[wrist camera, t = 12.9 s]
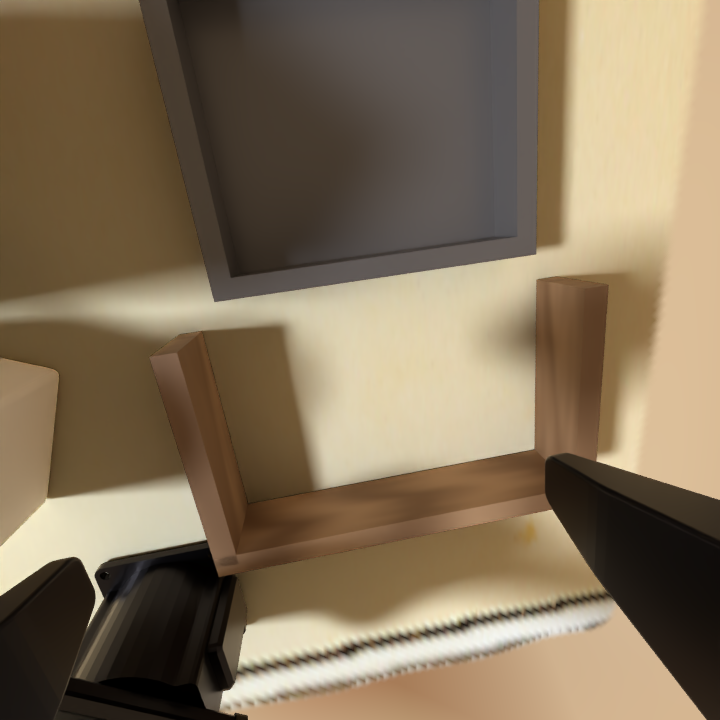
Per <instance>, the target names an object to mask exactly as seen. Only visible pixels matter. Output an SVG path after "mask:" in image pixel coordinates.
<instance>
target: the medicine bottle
mask: <svg viewBox="0 0 720 720" xmlns="http://www.w3.org/2000/svg"><path fill="white" fill-rule="evenodd" d="M58 384H59V373H58V372H57V371H56V370H54V369H51V368H47V367H42V366H37V365H33V364H28V363H23V362H18V361H14V360H9V359H4V358H0V546H1V545H2V544H3V543H4V542H5V541H6V540H7V539H8V538H9V537H10V536H11V535H12V534H13V533H14V532H15V531H16V530H17V529H18V528H19V527H20V526H21V525H22V524H23V523H24V522H25V521H26V520H27V519H28V518H29V517H30V516H31V515H32V514H33V513H34V512H35V511H36V510H37V509H38V508H39V507H40V506H41V505H42V504H43V503H44V502H45V500H46V498H47V494H48V484H49V474H50V464H51V454H52V444H53V434H54V424H55V414H56V404H57V394H58Z"/></svg>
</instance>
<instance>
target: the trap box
mask: <svg viewBox="0 0 720 720" xmlns="http://www.w3.org/2000/svg"><path fill="white" fill-rule="evenodd" d="M139 2H140V6H141V10H142V14H143V18H144V22H145V26H146V30H147V34H148V38H149V42H150V46H151V50H152V54H153V58H154V62H155V66H156V70H157V74H158V78H159V82H160V86H161V90H162V94H163V98H164V102H165V106H166V110H167V114H168V118H169V122H170V126H171V130H172V134H173V138H174V142H175V146H176V150H177V154H178V158H179V162H180V166H181V170H182V174H183V178H184V182H185V186H186V190H187V194H188V198H189V202H190V206H191V210H192V214H193V218H194V222H195V226H196V230H197V234H198V238H199V242H200V246H201V250H202V254H203V258H204V262H205V266H206V270H207V274H208V278H209V282H210V286H211V290H212V294H213V298H214V302H218V301H225V300H231V299H238V298H245V297H252V296H258V295H265V294H272V293H279V292H285V291H292V290H299V289H306V288H312V287H319V286H326V285H333V284H339V283H346V282H353V281H360V280H366V279H373V278H380V277H387V276H393V275H400V274H407V273H414V272H420V271H427V270H434V269H441V268H447V267H454V266H461V265H468V264H474V263H481V262H488V261H495V260H501V259H508V258H515V257H522V256H528V255H535V254H536V226H537V136H538V47H539V0H139Z"/></svg>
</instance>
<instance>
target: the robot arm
mask: <svg viewBox="0 0 720 720" xmlns="http://www.w3.org/2000/svg"><path fill="white" fill-rule="evenodd" d="M545 495H546V498H547V501H548V503H549V504H550V506H551V508H552V509H553V511H554V512H555V514H556V516H557V517H558V519H559V520H560V522H561V523H562V525H563V527H564V528H565V530H566V531H567V533H568V534H569V536H570V538H571V539H572V541H573V542H574V544H575V545H576V547H577V549H578V550H579V552H580V553H581V555H582V556H583V558H584V560H585V561H586V563H587V564H588V566H589V567H590V569H591V570H592V572H593V573H594V574H595V576H596V577H597V579H598V580H599V581H600V583H601V584H602V585H603V587H604V588H605V589H606V590H607V592H608V593H609V594H610V596H611V597H612V598H613V599H614V601H615V602H616V603H617V605H618V606H619V607H620V609H621V610H622V611H623V612H624V614H625V615H626V616H627V618H628V619H629V620H630V621H631V623H632V624H633V625H634V627H635V628H636V629H637V630H638V632H639V633H640V634H641V636H642V637H643V638H644V639H645V641H646V642H647V643H648V645H649V646H650V647H651V649H652V650H653V651H654V652H655V654H656V655H657V656H658V658H659V659H660V660H661V661H662V663H663V664H664V665H665V667H666V668H667V669H668V670H669V672H670V673H671V674H672V676H673V677H674V678H675V680H676V681H677V682H678V683H679V685H680V686H681V687H682V689H683V690H684V691H685V692H686V694H687V695H688V696H689V698H690V699H691V700H692V701H693V703H694V704H695V705H696V706H697V708H698V709H699V710H700V712H701V713H702V714H703V716H704V717H705V718H706V719H707V720H720V500H718V499H714V498H711V497H708V496H705V495H702V494H698V493H695V492H692V491H689V490H686V489H682V488H679V487H676V486H673V485H670V484H666V483H663V482H660V481H657V480H653V479H651V478H647V477H644V476H641V475H638V474H635V473H631V472H628V471H625V470H622V469H619V468H615V467H612V466H609V465H606V464H603V463H599V462H596V461H593V460H590V459H587V458H583V457H580V456H577V455H574V454H571V453H560V454H556V455H551V456H548V457H547V458H546V460H545ZM105 572H107V573H105ZM108 573H109V574H108ZM95 579H96V581H97V583H98V586H99V588H100V590H101V592H102V595H103V597H104V600H103V601H102V603H101V605H100V607H99V608H98V610H97V612H96V614H95V615H94V617H93V619H92V621H91V622H90V624H89V626H88V623H89V620H90V617H91V614H92V611H93V608H94V605H95V590H94V587H93V585H92V583H91V581H90V579H89V576H88V574H87V572H86V570H85V568H84V565H83V563H82V562H81V560H80V559H78V558H77V557H70V558H65V559H60V560H56V561H52V562H50V563H48V564H46V565H45V566H43V567H42V568H40V569H39V570H38V571H36V572H35V573H33V574H32V575H30V576H29V577H27V578H26V579H25V580H23V581H22V582H20V583H19V584H17V585H16V586H14V587H13V588H12V589H10V590H9V591H7V592H6V593H4V594H3V595H1V596H0V720H248V716H247V715H242V714H239V713H235V714H234V715H231V714H227V713H223V712H219V709H220V704H221V698H222V693H223V691H225V690H230V689H231V688H232V686H233V685H234V683H235V680H236V674H237V668H238V662H239V656H240V650H241V644H242V638H243V634H244V633H245V631H246V625H247V622H246V614H247V607H246V604H245V600H244V597H243V594H242V590H241V587H240V584H239V580H238V577H236V576H235V575H234V574H231V575H227V576H222V577H219V576H218V573H217V570H216V566H215V563H214V560H213V557H212V554H211V551H210V547H209V544H208V543H202V544H197V545H192V546H187V547H182V548H177V549H172V550H167V551H162V552H156V553H151V554H146V555H141V556H136V557H131V558H126V559H121V560H115V561H110V562H105V563H103V564H101V565H100V566H99V568H98V569H97V571H96V573H95ZM87 626H88V628H87Z"/></svg>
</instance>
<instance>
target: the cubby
mask: <svg viewBox="0 0 720 720" xmlns="http://www.w3.org/2000/svg"><path fill="white" fill-rule="evenodd" d="M607 299H608V285H606V284H600V283H593V282H587V281H581V280H574V279H568V278H561V277H551V278H544V279H538V280H537V293H536V378H535V450H531V451H526V452H520V453H515V454H510V455H505V456H499V457H494V458H489V459H483V460H478V461H473V462H468V463H462V464H457V465H452V466H447V467H441V468H436V469H431V470H425V471H420V472H415V473H410V474H404V475H399V476H394V477H388V478H383V479H378V480H373V481H367V482H362V483H357V484H351V485H346V486H341V487H336V488H330V489H325V490H320V491H315V492H309V493H304V494H299V495H293V496H288V497H283V498H278V499H272V500H267V501H262V502H256V503H251V504H248V502H247V499H246V495H245V491H244V487H243V484H242V480H241V476H240V472H239V469H238V465H237V461H236V457H235V454H234V450H233V446H232V442H231V439H230V435H229V431H228V427H227V424H226V420H225V416H224V412H223V409H222V405H221V401H220V397H219V394H218V390H217V386H216V382H215V379H214V375H213V371H212V367H211V364H210V360H209V356H208V352H207V349H206V345H205V341H204V337H203V334H202V331H199V332H193V333H186V334H180V335H178V336H177V337H175V338H174V339H173V340H171V341H170V342H169V343H167V344H166V345H165V346H163V347H162V348H161V349H159V350H158V351H156V352H155V353H154V354H152V355H151V356H150V357H149V358H150V362H151V365H152V368H153V371H154V374H155V377H156V380H157V384H158V387H159V390H160V393H161V396H162V399H163V403H164V406H165V409H166V412H167V415H168V418H169V421H170V425H171V428H172V431H173V434H174V437H175V440H176V443H177V447H178V450H179V453H180V456H181V459H182V462H183V466H184V469H185V472H186V475H187V478H188V481H189V484H190V488H191V491H192V494H193V497H194V500H195V503H196V507H197V510H198V513H199V516H200V519H201V522H202V525H203V529H204V532H205V535H206V538H207V541H208V544H209V547H210V551H211V554H212V557H213V560H214V563H215V566H216V570H217V573H218V576H219V577H222V576H227V575H231V574H236V573H241V572H246V571H251V570H256V569H261V568H266V567H271V566H276V565H281V564H286V563H291V562H296V561H300V560H305V559H310V558H315V557H320V556H325V555H330V554H335V553H340V552H345V551H350V550H355V549H360V548H365V547H370V546H374V545H379V544H384V543H389V542H394V541H399V540H404V539H409V538H414V537H419V536H424V535H429V534H434V533H439V532H444V531H449V530H453V529H458V528H463V527H468V526H473V525H478V524H483V523H488V522H493V521H498V520H503V519H508V518H513V517H518V516H523V515H527V514H532V513H537V512H542V511H547V510H552V508H551V506H550V504H549V503H548V501H547V498H546V495H545V460H546V458H547V457H548V456H551V455H556V454H560V453H571V454H574V455H577V456H580V457H583V458H587V459H590V460H593V461H596V458H597V443H598V429H599V415H600V400H601V386H602V371H603V357H604V343H605V328H606V314H607Z"/></svg>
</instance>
